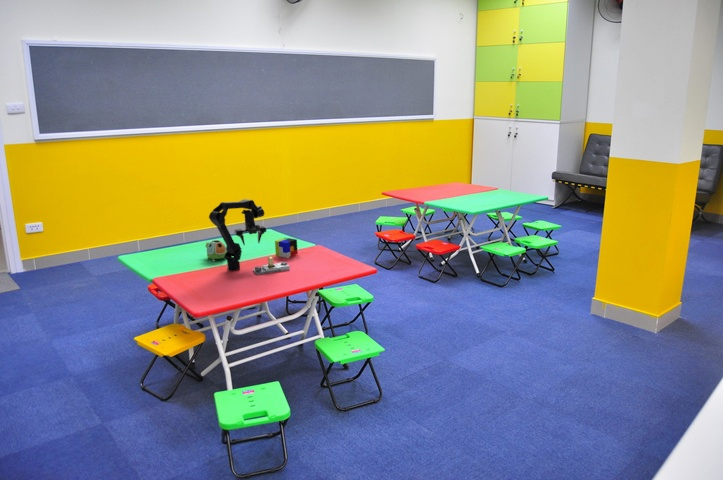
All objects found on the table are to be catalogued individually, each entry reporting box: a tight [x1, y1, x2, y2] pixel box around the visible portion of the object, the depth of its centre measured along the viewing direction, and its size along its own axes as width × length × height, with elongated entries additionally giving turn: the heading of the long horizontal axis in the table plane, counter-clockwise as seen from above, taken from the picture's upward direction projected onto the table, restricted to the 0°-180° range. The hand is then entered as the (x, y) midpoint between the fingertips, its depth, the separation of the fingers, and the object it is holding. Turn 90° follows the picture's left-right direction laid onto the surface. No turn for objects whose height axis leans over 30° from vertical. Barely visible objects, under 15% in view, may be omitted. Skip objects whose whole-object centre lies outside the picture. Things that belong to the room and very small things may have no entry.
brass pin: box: [267, 256, 274, 268], centre depth 342 cm, size 3×3×8 cm
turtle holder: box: [205, 239, 227, 262], centre depth 369 cm, size 12×18×12 cm
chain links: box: [252, 261, 290, 276], centre depth 342 cm, size 20×9×3 cm, turn 114°
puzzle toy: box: [274, 237, 298, 259], centre depth 372 cm, size 10×10×10 cm
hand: (251, 244), depth 356 cm, fingers open, 9 cm apart
